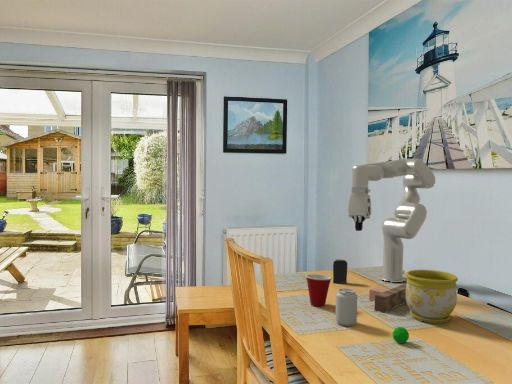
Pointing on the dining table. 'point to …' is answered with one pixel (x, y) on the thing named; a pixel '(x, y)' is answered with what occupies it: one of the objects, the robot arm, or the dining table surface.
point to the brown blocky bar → (390, 298)
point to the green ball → (400, 335)
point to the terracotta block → (375, 292)
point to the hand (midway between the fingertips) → (358, 230)
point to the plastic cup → (318, 288)
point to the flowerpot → (431, 295)
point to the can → (346, 307)
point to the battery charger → (339, 271)
